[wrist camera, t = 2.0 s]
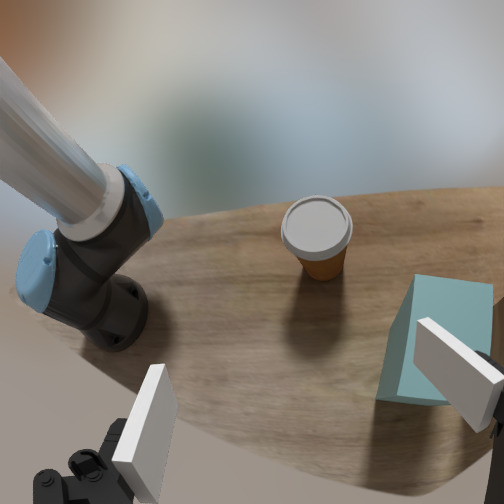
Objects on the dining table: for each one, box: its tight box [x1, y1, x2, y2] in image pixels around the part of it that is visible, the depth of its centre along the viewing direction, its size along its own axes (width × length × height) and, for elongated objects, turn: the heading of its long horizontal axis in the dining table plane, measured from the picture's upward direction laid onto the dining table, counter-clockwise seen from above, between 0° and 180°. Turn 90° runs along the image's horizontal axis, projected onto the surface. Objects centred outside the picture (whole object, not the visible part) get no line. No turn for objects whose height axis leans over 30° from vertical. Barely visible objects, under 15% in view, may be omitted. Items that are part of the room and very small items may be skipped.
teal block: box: [376, 274, 493, 406], centre depth 30 cm, size 8×10×20 cm
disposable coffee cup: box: [281, 195, 353, 281], centre depth 45 cm, size 10×10×12 cm
